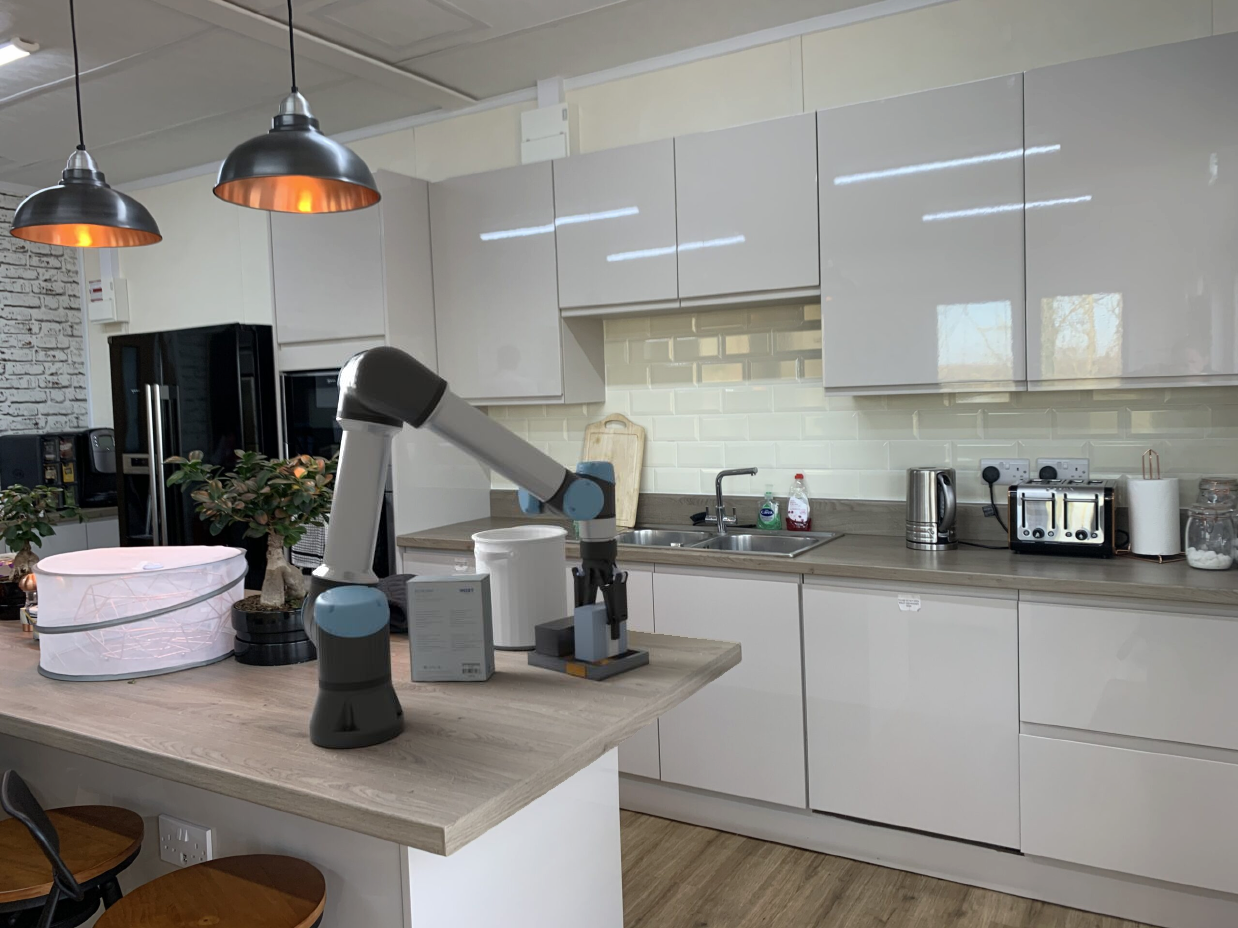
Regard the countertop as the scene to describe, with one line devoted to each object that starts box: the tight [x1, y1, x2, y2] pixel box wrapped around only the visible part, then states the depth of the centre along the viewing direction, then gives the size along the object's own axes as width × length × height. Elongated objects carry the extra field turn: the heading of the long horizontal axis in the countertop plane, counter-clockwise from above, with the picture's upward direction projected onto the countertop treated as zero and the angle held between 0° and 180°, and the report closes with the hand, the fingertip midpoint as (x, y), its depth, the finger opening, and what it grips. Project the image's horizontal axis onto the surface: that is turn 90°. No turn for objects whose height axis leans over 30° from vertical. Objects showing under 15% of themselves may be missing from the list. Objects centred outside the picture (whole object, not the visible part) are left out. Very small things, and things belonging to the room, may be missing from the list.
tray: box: [527, 614, 650, 682], centre depth 191 cm, size 15×20×8 cm
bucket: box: [471, 526, 569, 651], centre depth 212 cm, size 26×22×24 cm
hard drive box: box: [405, 573, 496, 682], centre depth 185 cm, size 16×8×20 cm, turn 84°
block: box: [573, 600, 628, 662], centre depth 188 cm, size 10×5×10 cm, turn 138°
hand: (602, 652), depth 188 cm, fingers closed on block, 5 cm apart
